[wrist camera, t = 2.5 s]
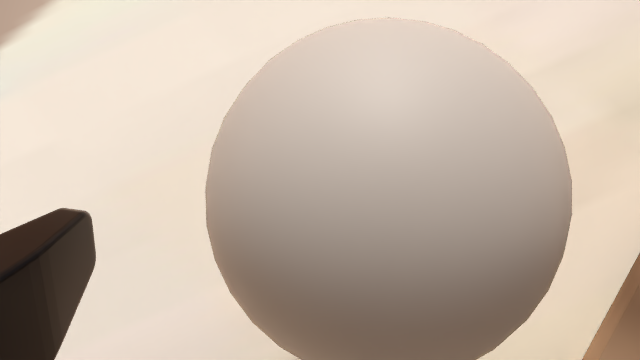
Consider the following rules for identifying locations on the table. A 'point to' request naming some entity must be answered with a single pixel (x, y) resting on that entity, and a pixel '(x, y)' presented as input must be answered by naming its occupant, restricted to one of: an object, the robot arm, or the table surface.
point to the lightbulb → (388, 195)
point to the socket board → (620, 324)
